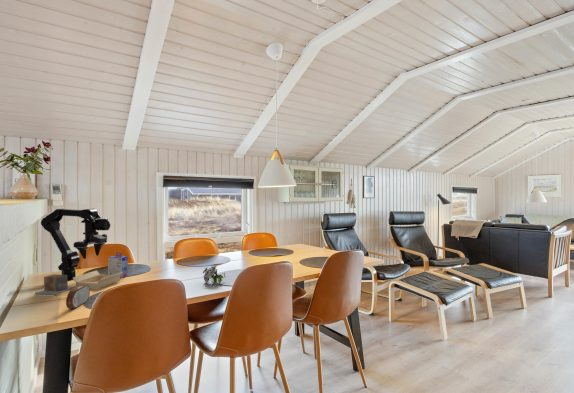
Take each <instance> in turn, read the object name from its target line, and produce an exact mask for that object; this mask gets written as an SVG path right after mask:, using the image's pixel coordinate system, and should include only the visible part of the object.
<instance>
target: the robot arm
mask: <svg viewBox="0 0 574 393" xmlns="http://www.w3.org/2000/svg"><path fill="white" fill-rule="evenodd" d="M64 216H65V217H79V218H80V219H82V220H81V221H80V223H82V224H84V232H83V233H82V234H83V235H84V239H83V240H82V241H81V240H80V241H75V242H73V248H75V249H77V251H73V250H72V249H71V247H70V246H69V244H68V242H67V240H66V238H65V237H64V234H63V233H62V231H61V222H60V221H61V220H62V219H63V217H64ZM40 225H41V227H42V228H43V229H44V230H45V231H47V232H48V233H49V234H50V235H51V238H52V239H53V241H54V243H55V245H56V247H57V249H58V250H59V252H60V254H61V259H60V260H61V263H60V264H59V266H57V269H58V270H59V271H61V275H67V281H72V280H73V278H74V277H77V276H76V268H78V266H79V263H80V261H81V259H80V255H81V256H82V258H83V259H84V260H86V258H87V250H88V248H89V246H88V245H92V244H93V247H94V252H95V256H97V257H98V256H99V255H100V251H101V250H102V247H103V246H105V244H107V243H108V235H107V234H106V233H103V234H99V231H109V230H110V228H111V222H110V221H109V218H102V216H101V215H100V214H99V213H98V210H97V209H96V208H86V209H71V208H70V209H67V208H55V210H53V211H52V212H51V213H49V214H47V215H46V216H45V217H43V218H42V219H41V220H40ZM78 252H79V254H80V255H79V254H78Z"/></svg>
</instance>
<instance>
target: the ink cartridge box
mask: <svg viewBox="0 0 574 393" xmlns="http://www.w3.org/2000/svg"><path fill="white" fill-rule="evenodd" d="M122 254H123V252H116V254H115V255H113V256H109V257H108V258H107V275H114V274H117V273H120V272H123V273H122V274H121V275H120V279H123V278H126V277H128V276H129V274H128V273H129V271H128V270H129V269H128V268H129V266H128V265H129V264H128V260H129V258H128V256H127V255H124V256H123V255H122Z"/></svg>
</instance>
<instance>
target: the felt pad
mask: <svg viewBox="0 0 574 393" xmlns="http://www.w3.org/2000/svg"><path fill="white" fill-rule="evenodd" d="M75 287H76V286H73V285H72V286H70V285H68V289H65V290H62V291H44V289H42V290H38V291H35V292H34V295H35V294H36V295H38V296H50V297H55V296H57V295H59V294H62V293H65V292H68V291H70V290H71V289H73V288H75Z"/></svg>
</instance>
